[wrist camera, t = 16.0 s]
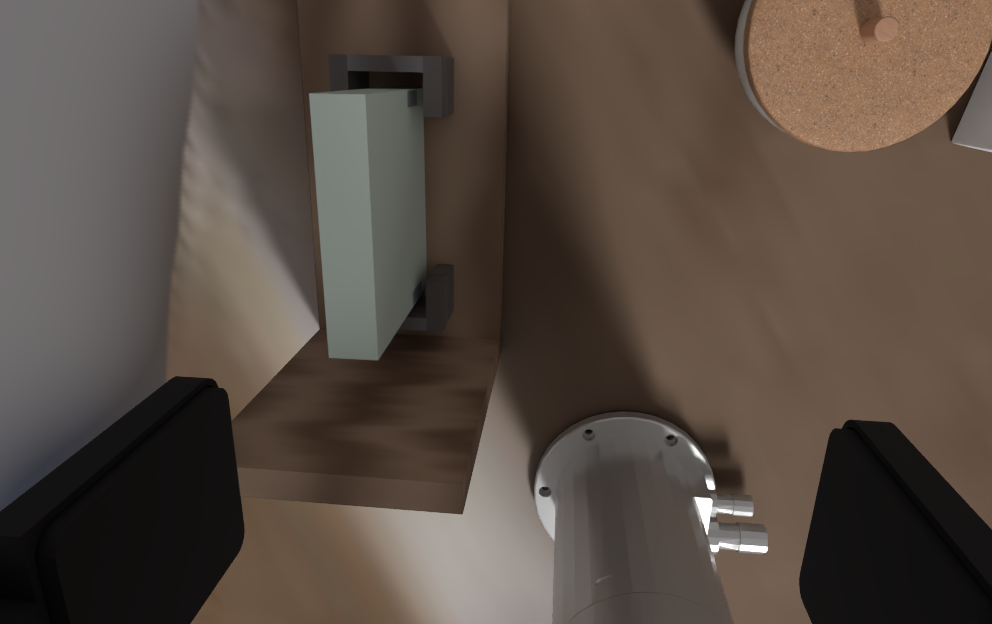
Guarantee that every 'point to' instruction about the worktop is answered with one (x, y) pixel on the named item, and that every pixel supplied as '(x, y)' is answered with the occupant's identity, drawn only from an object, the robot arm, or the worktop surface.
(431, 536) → the worktop surface
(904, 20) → the lidded jar
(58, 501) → the robot arm
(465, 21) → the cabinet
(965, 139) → the milk
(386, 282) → the door
